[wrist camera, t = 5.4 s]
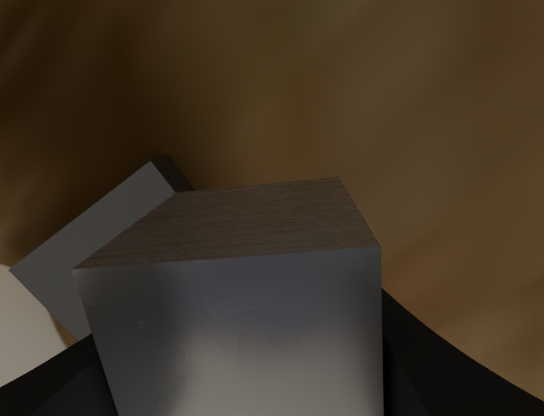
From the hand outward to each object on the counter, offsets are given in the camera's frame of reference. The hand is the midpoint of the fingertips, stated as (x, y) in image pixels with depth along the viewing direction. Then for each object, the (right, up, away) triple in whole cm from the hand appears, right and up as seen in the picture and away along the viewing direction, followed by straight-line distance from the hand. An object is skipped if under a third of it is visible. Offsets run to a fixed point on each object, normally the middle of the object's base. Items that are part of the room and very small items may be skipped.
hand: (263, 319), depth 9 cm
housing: (0, +1, +2) cm, 2 cm away
